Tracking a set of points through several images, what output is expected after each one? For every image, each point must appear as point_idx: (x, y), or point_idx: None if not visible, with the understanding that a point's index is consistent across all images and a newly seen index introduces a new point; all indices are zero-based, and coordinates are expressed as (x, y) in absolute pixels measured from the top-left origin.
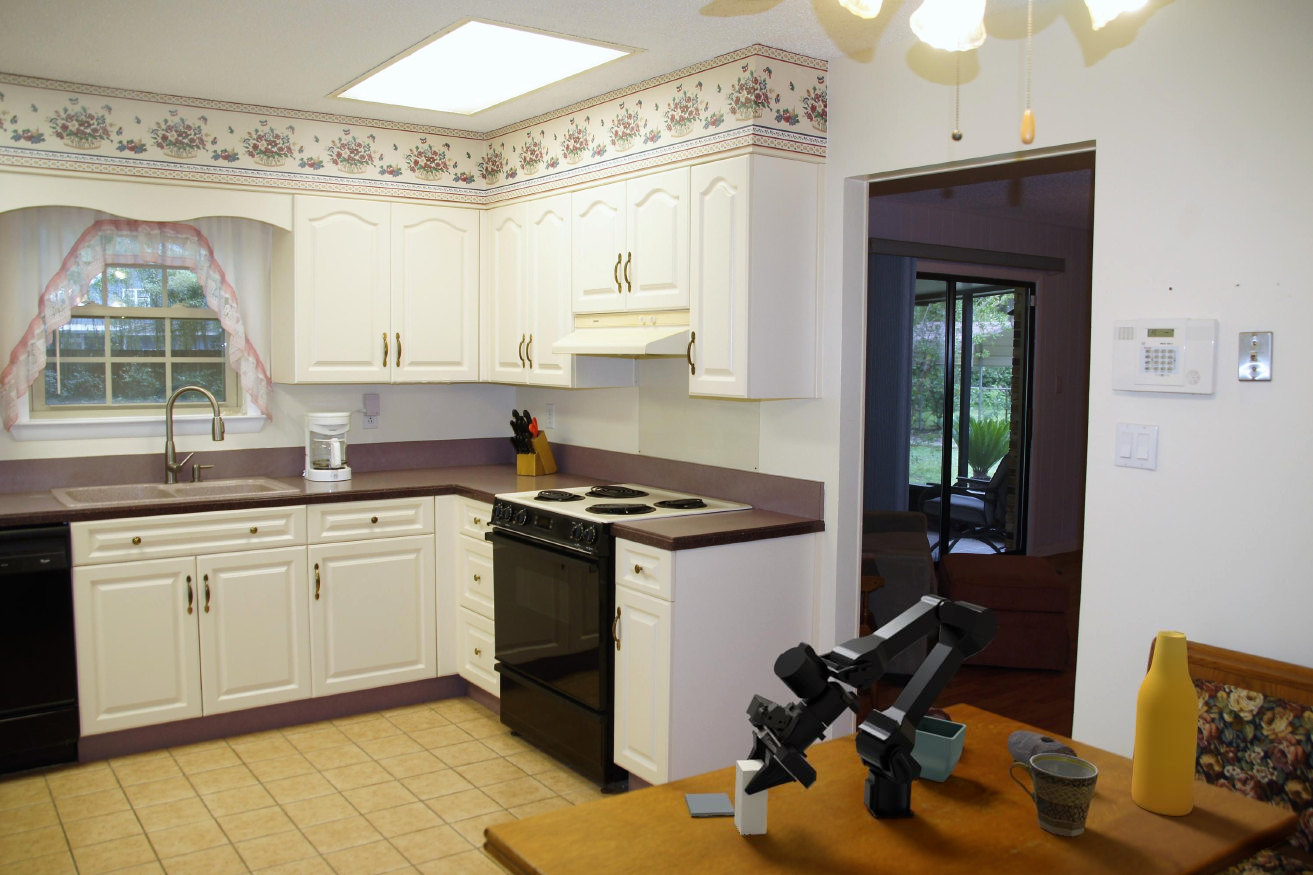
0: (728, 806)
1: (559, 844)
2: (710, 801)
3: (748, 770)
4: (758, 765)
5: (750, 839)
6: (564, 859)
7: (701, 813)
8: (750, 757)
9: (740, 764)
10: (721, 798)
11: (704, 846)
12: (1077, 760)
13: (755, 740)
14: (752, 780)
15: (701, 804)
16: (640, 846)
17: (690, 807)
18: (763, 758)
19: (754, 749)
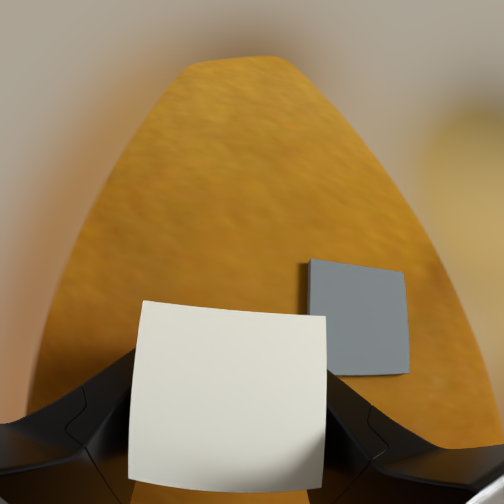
0: (339, 363)
1: (232, 79)
2: (369, 322)
3: (139, 340)
4: (214, 446)
5: None
6: (190, 78)
7: (309, 283)
8: (352, 421)
9: (254, 323)
10: (384, 354)
11: (152, 246)
12: None
13: (447, 471)
14: (128, 365)
15: (354, 295)
16: (193, 145)
17: (339, 265)
18: (339, 501)
19: (396, 456)
